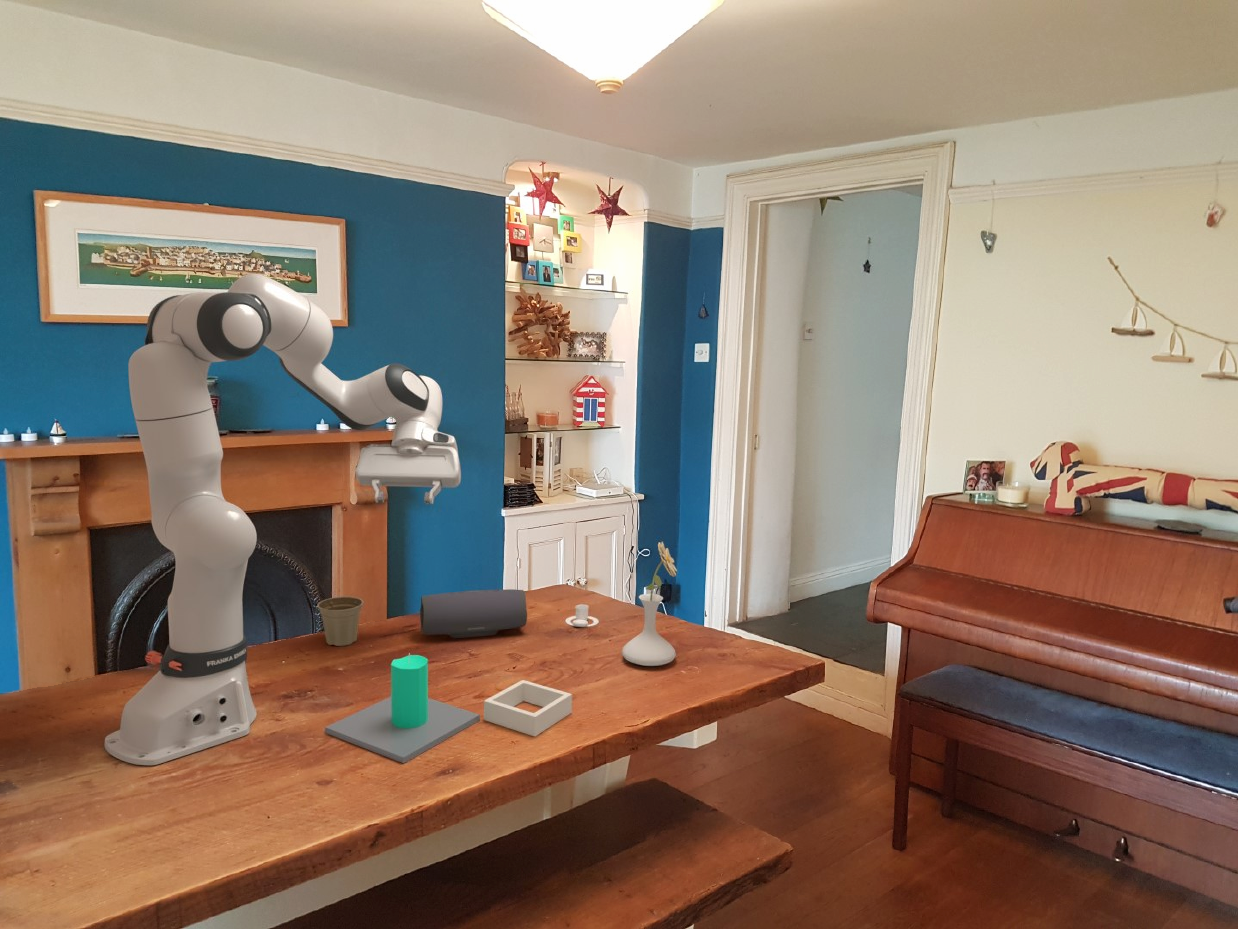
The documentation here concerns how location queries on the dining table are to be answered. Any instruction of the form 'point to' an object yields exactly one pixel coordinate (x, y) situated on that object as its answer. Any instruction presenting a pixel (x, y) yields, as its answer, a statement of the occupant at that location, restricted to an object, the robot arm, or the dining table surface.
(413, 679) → the candle
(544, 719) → the square frame
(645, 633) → the flower in vase
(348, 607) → the flower pot
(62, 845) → the dining table surface
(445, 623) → the bluetooth speaker
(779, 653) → the dining table surface
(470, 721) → the slate tile
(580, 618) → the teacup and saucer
